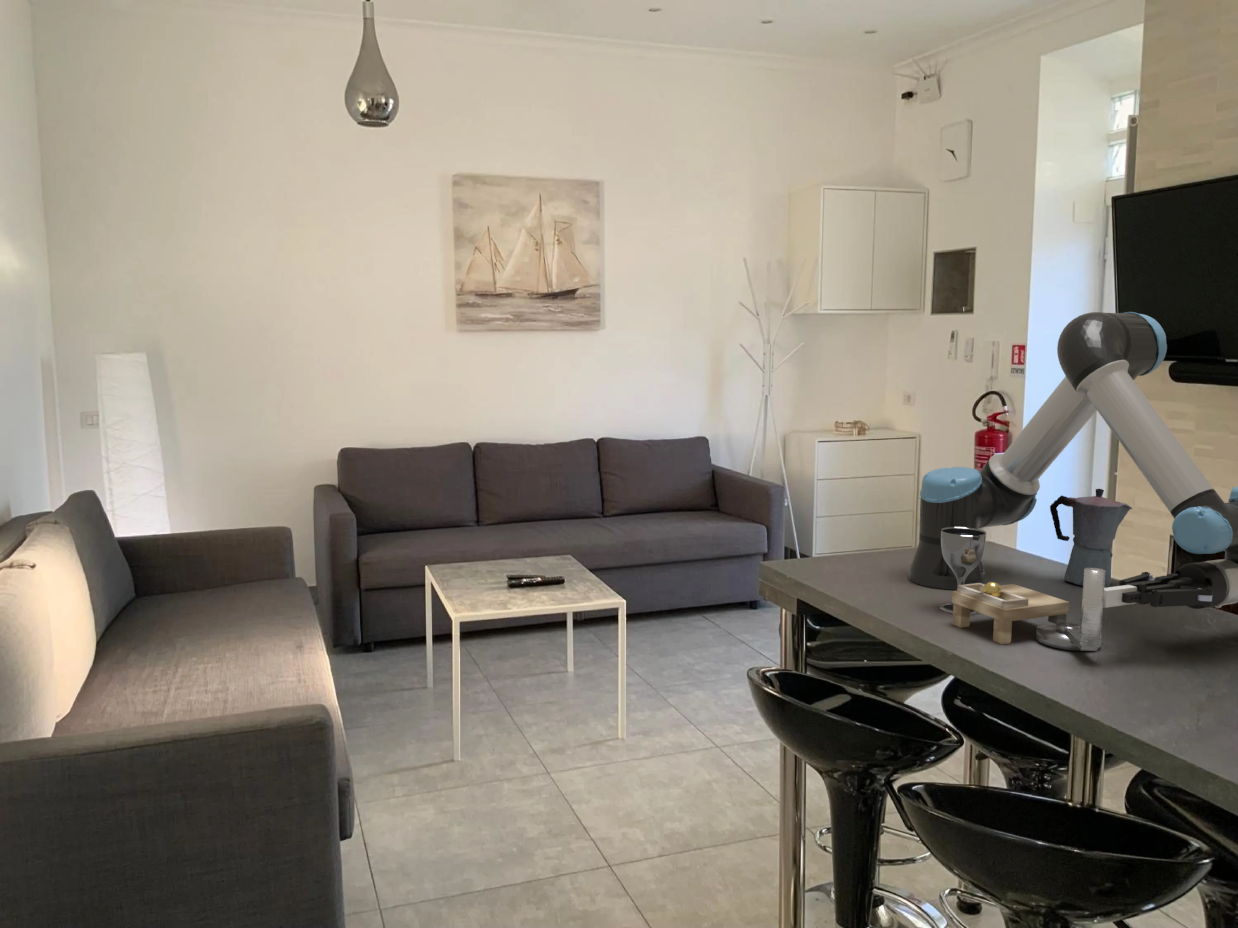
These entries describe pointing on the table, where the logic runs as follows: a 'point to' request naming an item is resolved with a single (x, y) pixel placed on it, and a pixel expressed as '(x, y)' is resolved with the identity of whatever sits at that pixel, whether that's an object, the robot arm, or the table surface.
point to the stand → (1006, 607)
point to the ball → (992, 589)
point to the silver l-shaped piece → (1091, 619)
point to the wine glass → (962, 553)
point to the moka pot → (1090, 533)
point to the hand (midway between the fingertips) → (1102, 597)
